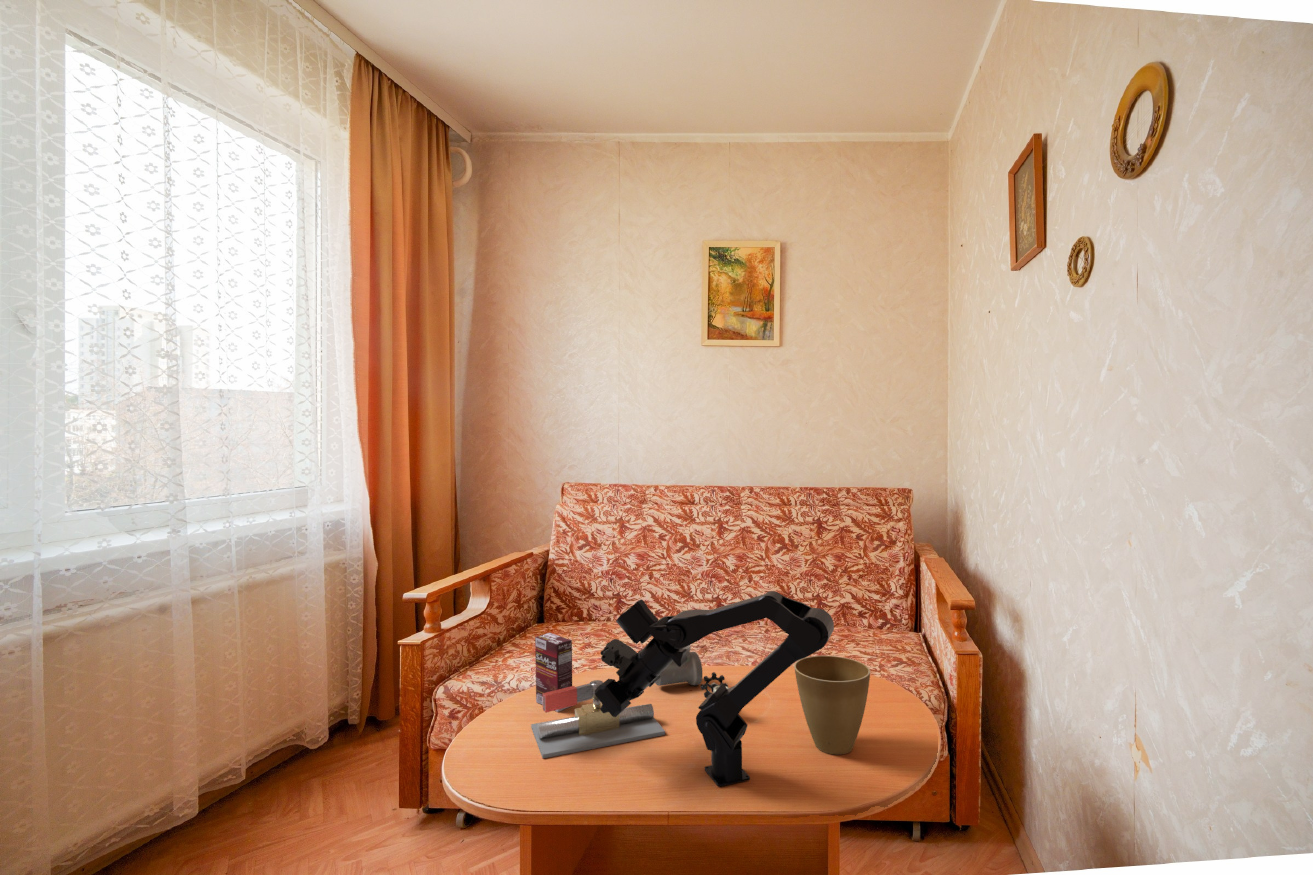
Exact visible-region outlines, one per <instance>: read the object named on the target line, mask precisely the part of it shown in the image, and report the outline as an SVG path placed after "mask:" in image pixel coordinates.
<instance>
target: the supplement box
mask: <svg viewBox="0 0 1313 875" xmlns="http://www.w3.org/2000/svg"><path fill="white" fill-rule="evenodd" d="M534 642H535V643H534V646H535V647H534V648H535V702H536V704H537V703H538V704H540V705H542V706H543V693H546V692H550V691H555V690H559V689H563V688H567V687H571V686H573V641H572V639H571V638H566V637H563V636H561V635H558V634H555V633H552V632H546V633H544V634H540V635H538V636H535V637H534ZM571 707H572V706H569V707H566V708H562V709H558V710H554V711H555V712H556V713H560V712H561V711H565V710H566V709H569V708H571Z"/></svg>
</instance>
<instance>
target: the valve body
mask: <svg viewBox="0 0 1313 875" xmlns="http://www.w3.org/2000/svg"><path fill="white" fill-rule="evenodd" d="M601 706H602V703H601V702H600V700H599V699H592V703H588V704H581V707H577V708H574V716H571V718H570V717H565V718H566V719H564V718H560V720H559V719H554V721H553V720H548V722H547V721H543V722H542V721H541V722H542V723H541V722H537V723H538V736H539V739H542V738H547V737H553V736H558V735H564V734H569V733H575V732H578V734H579V735H584V734H592V733H598V732H603V731H609V730H613V729H617V728H619V724H624V723H629V722H635V721H640V720H646V719H651V718H653V717H654V718H655V712H654V705H653V704H652V703H648V704H640V706H639V705H634V706H635V707H633V706H628V707H629V708H628V707H626V708H625V709H624V710H623V711H622V712H621V713H620V714H619V715H618V716H617V717H613V716H612V715H611V714H610V713H609V712H607V713H603V712H602V711H601V710H600V708H601Z"/></svg>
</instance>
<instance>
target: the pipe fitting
mask: <svg viewBox="0 0 1313 875" xmlns="http://www.w3.org/2000/svg"><path fill="white" fill-rule="evenodd" d="M683 649H686V650H687V652H686V654H687V661H686V662H685V663H684V664H683V665H682V666H681V667H678V666H677V664H676V663H675V662H674V661H672V662H671V663H670V664H669V665H668V666H667V667H666V668H665V669H664V670H663V672H662V673H661V674H660V678H659V680H658V681H657V682H656V683H655V685H656V686H658V687H659V686H668V685H674V684H680V683H681V684H682V683H687V684H689V685H690V686H698V685H699V686H701V684H702V681H703V666H702V665H703V664H702V661H701V658H700V656H699V654H698V653H697V652H696V651H691V645H689V646H687V647H685V648H683Z"/></svg>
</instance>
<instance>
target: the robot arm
mask: <svg viewBox="0 0 1313 875" xmlns="http://www.w3.org/2000/svg"><path fill="white" fill-rule="evenodd" d="M763 619H768V620H769V621H771V622H773V624H775V625H776V626H777V627H778V628H779V629H781V630H782V631H783V632H784V633H785V634H787V636H786V637H785V639H784V640H783V642H781V643H780V644H779V645H778V646H777V647H775V648H774V649H773V651H771V652H770V653H769V654H768V655H767V656H765V657H764V658H763V659H762V660H761V661H760V662H759V663H758V664H757V665H756V666H755V667H753V669H751V671H749V672H747V674H746V675H745V676H744V677H742V678H741V679H740V680H739V681H738V682H737V683H736V684H734V685H733V686H730V687H728V689H727V688H726V687H725V685H724V683H725V682H723V683H722V684H721V685H720V687H719V688H718V689H717V690H716V691H715V692H714V693H712V692H711V694H710V695H709V696H708V697H707V698H705V699H704V701H702V703H701V704H700V705H699V706H698V707H697V708H698V710H699V712H698V713H697V714H696V717H695V722H696V727H697V730H698V731H699V732H700V734H701V735H702V739H703V741H704V745H705V747H706V749H707V751H710V752H711V753H710V754H711V755H710V756H711V761H710V762H711V765H707V766H704V771H705V772H706V774H707V775H708V776H709V777H710V778H711V779H712V781H713V782H714V783H715V785H716V786H718V787H725V786H729V785H733V784H738V783H742V782H746V781H749V780H750V779H751V777H750V775H749V774H748V773H747V772H746V771H745V770H744V769H743V742H742V738H743V736H745V734H746V732H747V729H748V727H749V726H748V723H747V722H746V721H745V720H744V718H743V717H742V716H741V715H740V712H741V711H742V710H743V708H745V707H746V706H747V705H748V704H749V703H750V702H751V701H752V700H754V699H755V698H756V697H758V695H759V694H760V693H762V692H763V691H764V690H765V689H766V688H767V687H769V685H771V684H773V682H774V681H775V680H776V679H777V678H778V677H779V676H781V675H782V674H783V673H784V672H786V670H787V669H789V667H791V666H792V665H793V664H795V663H796V662H797V661H798V660H801V659H803V658H806V657H811V655H813V654H815V653H817V652H818V651H820V650H822V649H823V648H824V647H825V646H826V645H827V643H828V641H829V640H830V638H831V636H832V635H833V632H834V630H835V622H834V619H833V617H832V616H831V614H830V613H829V612H827V610H825V609H822V608H818V607H812V606H810V605H808V604H806V603H804V602H802V601H799V600H795V599H793V598H790V597H787V596H785V595H783V594H781V593H779V592H777V591H774V590H769V591H767V592H765V593H764V594H760V595H757V596H754V597H750V598H746V599H744V600H740V601H737V602H733V603H730V604H726V605H723V606H720V607H719V606H718V607H716V608H713V609H700V608H698V609H697V608H696V609H687V610H683V611H681V612H679V613H677V614H676V615H666V616H665V615H664V616H662V617H661V618H658V617H656V615H655V613H654V612H653V611H652V610H651V609H650V608H649V607H648V605H647V603H646V602H645V601H644V600H643V598H641V599H639V600H637V601H636V602H635V603H634V604H633V605H631V606H630V607H629V608H628V609H627V610H626V611H624V612H622V613H621V614H620V615H619V617H617V619H616V624H617V625H618V626H619V627H620V628H621V629H622V630H623V632H624V633H625V634H626V635H627V637H628V638H629V639H630V640H631V641H632V642H633V644H635V645H637V644H638V643H640V644H641V645H643V644H644V643H645V642H647V641H648V640H649V639H650V638H651V637H653V638H651V640H650V641H648V643H647V644H646V645H645V646H644V647H643V648H642V649H640V650H639V651H636V650H634V649H633V647H631V646H630V645H628V644H627V643H625V642H624V641H622V640H620V639H618V638H614V639H612V640H610V641H609V642H607V643H606V644H605V646H604V647H603V649H602V650H601V651H600V655H601V658H600V659H601V661H602V662H603V663H605V664H606V665H607V666H609V667H614V668H616V669H618V670H617V671H616V672H615V673H616V675H617V676H618V680H617V681H616V679H615V678H614V679H613V678H608V679H606V680H605V681H603V683H602V684H601V685H600V686H599V687H598V688H597V689H596V690H595V695H596V696H597V698H598V699H599V700H600V702H601V703H602V706H601V708H600V710H601V711H602V712H603V713H607V712H609V713H610V714H611V715H612V716H613V717H617V716H618V715H619V714H620V713H621V712H622V711H623V710H624V709H625V708H628V707H630V705H631V704H632V702H631V701H633V700H636V699H637V698H639V697H640V696H642V695H643V694H644V693H645V690H646V689H647V688H648V687H649V688H651V687H652V686H654V684H656V682H657V681H658V680H659V678H660V674H661V673H662V672H663V670H664V669H665V668H666V667H667V666H668V665H669V664H670V663H671V662H672V661H674V662H675V663H676V664H677V666H678V667H681V666H682V665H683V664H684V663H685V662H686V661H687V654H686V652H687V650H686V649H683V648H685V647H687V646H689V645H690V646H692V645H693V644H694V643H697V642H698V641H699V640H702V639H703V638H705V637H707V636H709V635H711V634H713V633H715V632H716V633H717V632H719V631H723V630H728V629H731V628H734V627H738V626H742V625H745V624H749V623H753V622H756V621H761V620H763Z"/></svg>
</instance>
